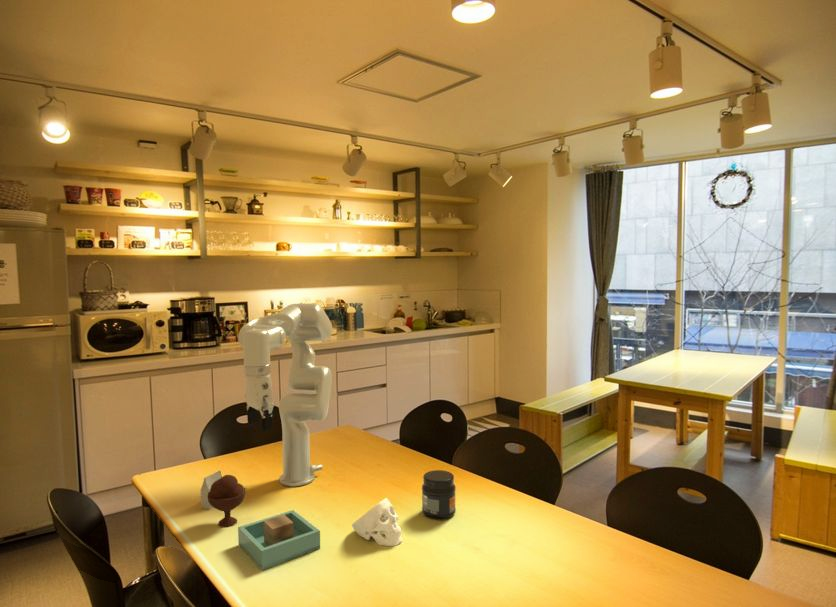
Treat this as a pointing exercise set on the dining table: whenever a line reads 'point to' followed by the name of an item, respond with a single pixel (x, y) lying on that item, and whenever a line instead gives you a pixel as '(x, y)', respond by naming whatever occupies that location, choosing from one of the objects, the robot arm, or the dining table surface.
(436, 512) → the supplement container
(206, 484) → the tea bag
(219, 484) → the ice cream bowl
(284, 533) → the walnut cube
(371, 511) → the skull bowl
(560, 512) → the dining table surface
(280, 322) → the robot arm
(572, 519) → the dining table surface
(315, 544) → the stoneware box
